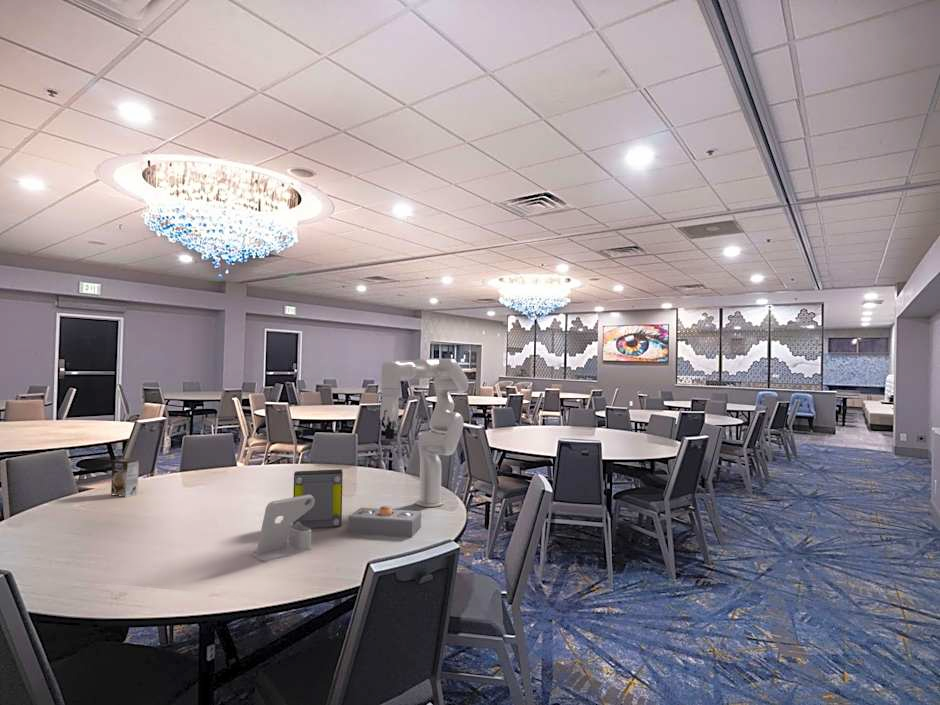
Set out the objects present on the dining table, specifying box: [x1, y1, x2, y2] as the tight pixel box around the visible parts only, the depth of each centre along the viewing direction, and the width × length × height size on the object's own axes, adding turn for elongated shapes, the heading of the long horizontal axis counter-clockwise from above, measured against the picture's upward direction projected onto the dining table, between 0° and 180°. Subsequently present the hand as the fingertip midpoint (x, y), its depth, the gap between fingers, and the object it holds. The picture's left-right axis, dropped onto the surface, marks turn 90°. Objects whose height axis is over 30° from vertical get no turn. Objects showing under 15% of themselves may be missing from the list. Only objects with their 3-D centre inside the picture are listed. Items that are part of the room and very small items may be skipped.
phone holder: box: [250, 495, 315, 563], centre depth 171 cm, size 17×10×18 cm, turn 137°
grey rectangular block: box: [348, 507, 422, 538], centre depth 194 cm, size 12×24×6 cm, turn 80°
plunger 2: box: [399, 512, 411, 517], centre depth 193 cm, size 4×4×5 cm
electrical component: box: [292, 468, 343, 529], centre depth 199 cm, size 18×10×20 cm, turn 105°
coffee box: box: [110, 458, 140, 497], centre depth 240 cm, size 9×6×16 cm
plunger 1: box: [360, 509, 372, 515], centre depth 196 cm, size 4×4×5 cm
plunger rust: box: [379, 505, 393, 516], centre depth 194 cm, size 4×4×5 cm
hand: (389, 438), depth 207 cm, fingers closed
